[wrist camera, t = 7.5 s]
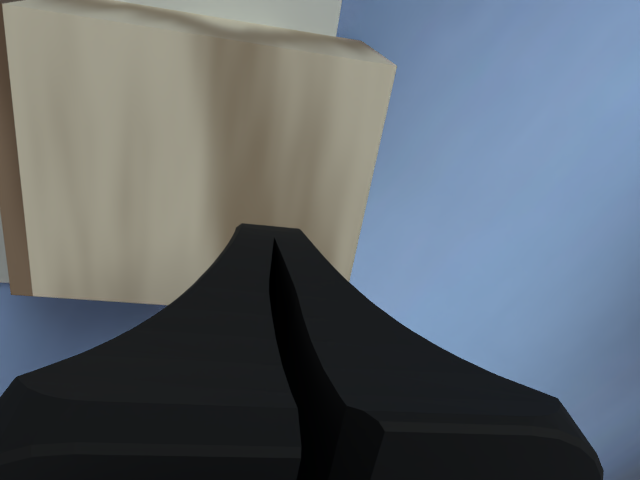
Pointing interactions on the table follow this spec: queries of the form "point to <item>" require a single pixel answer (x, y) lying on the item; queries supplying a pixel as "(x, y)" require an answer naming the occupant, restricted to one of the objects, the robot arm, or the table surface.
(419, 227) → the table surface
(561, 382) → the table surface
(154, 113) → the ash block
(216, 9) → the mat
